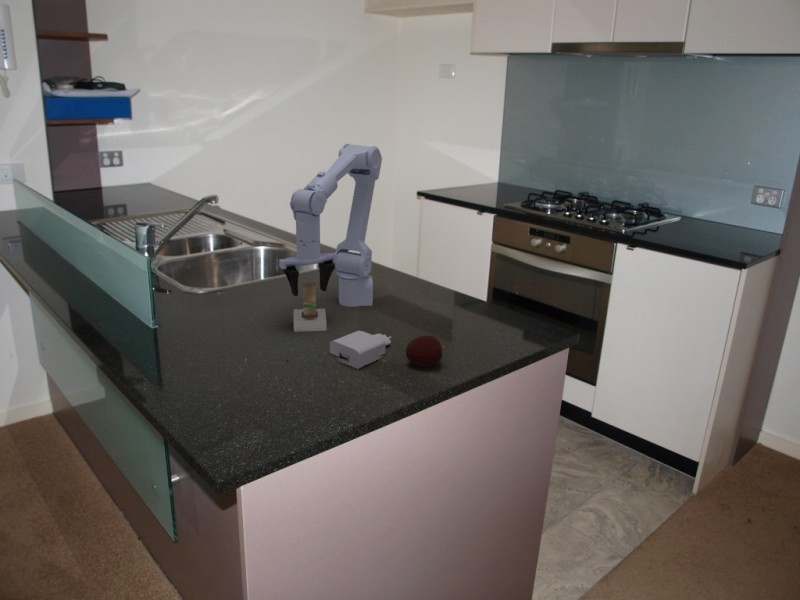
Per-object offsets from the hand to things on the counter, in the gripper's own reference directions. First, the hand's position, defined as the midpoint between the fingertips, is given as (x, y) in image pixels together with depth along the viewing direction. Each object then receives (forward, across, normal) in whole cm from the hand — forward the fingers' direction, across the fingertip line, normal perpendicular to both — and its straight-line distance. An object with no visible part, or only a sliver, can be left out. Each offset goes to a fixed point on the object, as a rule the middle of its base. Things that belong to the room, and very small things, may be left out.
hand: (309, 292), depth 159 cm
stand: (+10, 0, 0) cm, 10 cm away
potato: (+10, -14, +31) cm, 36 cm away
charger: (+10, -6, +20) cm, 23 cm away
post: (+5, 0, 0) cm, 5 cm away
